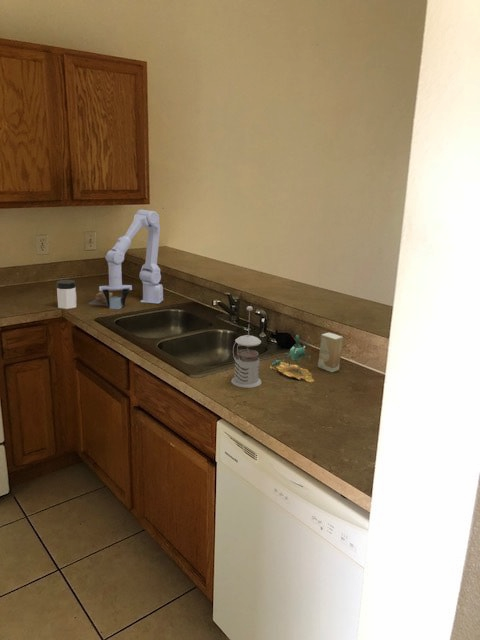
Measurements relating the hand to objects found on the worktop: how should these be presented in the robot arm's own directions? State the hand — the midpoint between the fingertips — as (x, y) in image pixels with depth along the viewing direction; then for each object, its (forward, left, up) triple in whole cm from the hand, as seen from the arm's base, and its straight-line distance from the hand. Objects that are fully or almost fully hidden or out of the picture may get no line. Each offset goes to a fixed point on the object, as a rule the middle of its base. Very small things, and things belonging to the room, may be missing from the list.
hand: (116, 305), depth 243 cm
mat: (+9, -8, -1) cm, 12 cm away
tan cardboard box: (+9, -8, -1) cm, 12 cm away
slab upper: (+9, -8, +1) cm, 12 cm away
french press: (-70, +69, -2) cm, 98 cm away
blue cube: (0, 0, -1) cm, 1 cm away
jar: (+22, +4, -2) cm, 22 cm away
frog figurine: (-85, +59, -2) cm, 104 cm away
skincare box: (-97, +52, -2) cm, 110 cm away
